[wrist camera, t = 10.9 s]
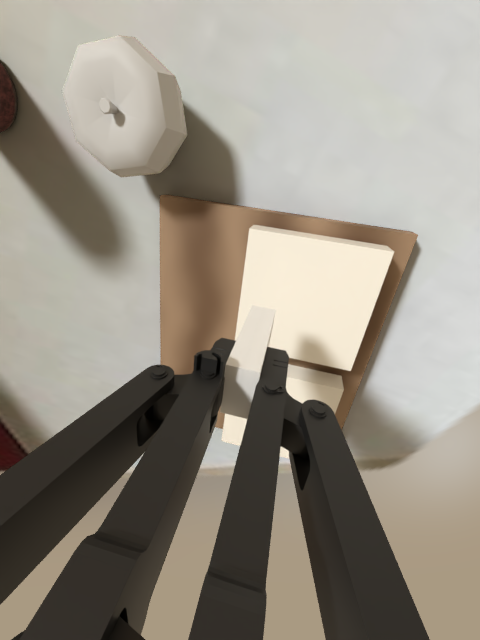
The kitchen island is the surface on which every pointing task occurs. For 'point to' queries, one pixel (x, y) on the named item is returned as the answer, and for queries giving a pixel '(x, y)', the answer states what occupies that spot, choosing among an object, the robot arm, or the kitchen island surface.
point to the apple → (124, 106)
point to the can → (7, 100)
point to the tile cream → (313, 291)
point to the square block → (299, 387)
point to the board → (227, 275)
